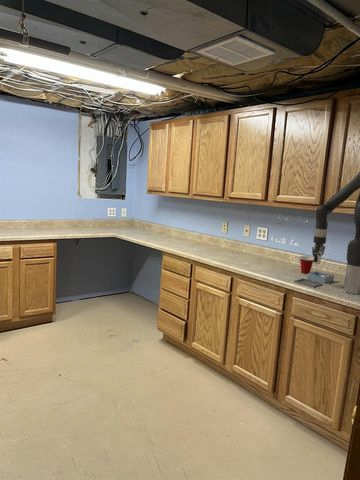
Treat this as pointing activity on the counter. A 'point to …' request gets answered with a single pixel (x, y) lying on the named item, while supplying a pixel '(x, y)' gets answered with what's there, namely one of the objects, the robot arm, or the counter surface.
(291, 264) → the counter surface
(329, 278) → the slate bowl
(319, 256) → the grey stone
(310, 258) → the plastic cup
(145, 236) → the counter surface
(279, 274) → the counter surface
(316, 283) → the parts tray
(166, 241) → the counter surface
